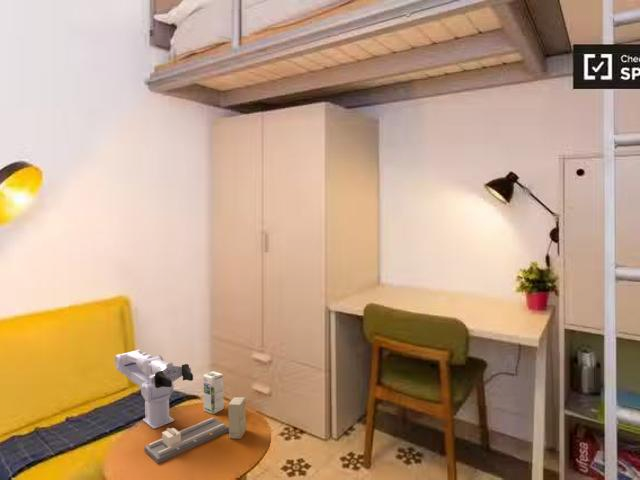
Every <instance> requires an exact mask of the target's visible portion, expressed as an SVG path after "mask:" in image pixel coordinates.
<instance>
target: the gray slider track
mask: <svg viewBox="0 0 640 480" xmlns="http://www.w3.org/2000/svg"><path fill="white" fill-rule="evenodd" d="M178 431H179V430H178ZM179 432H180V433H181V442H179V443H177V444H175V445H173V446H170V447H167V446H166V445H165V444H164V443H163V442H162V438H160V439H157V440H155V441H153V442H151V443H149V444H148V445H145V446H144V448H143V449H144V452H145V453H146V454H147V455H148V456H149V457H150V458H152V460H154V461H155V462H156V464H160V463H163V462H165V461H167V460H169V459H172V458H174V457H176V456H178V455H180V454H182V453H184V452H186V450H187V451H189V450H190V449H193V448H195V447H197V446H200V445H202V444H204V443H206V442H209V441H211V440H212V439H215V438H217V437H219V436H222V435H223V434H225V433H226V434H227V433H229V425H226V424H225V423H223V422H222V421H220V420H218V419H217V418H215V417H214V416H213V417H211V418H208V419H206V420H203V421H200V422H198V423H196V424H193V425H191V426H188V427H187V428H183V429H181V430H180V431H179ZM188 449H189V450H188Z"/></svg>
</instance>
